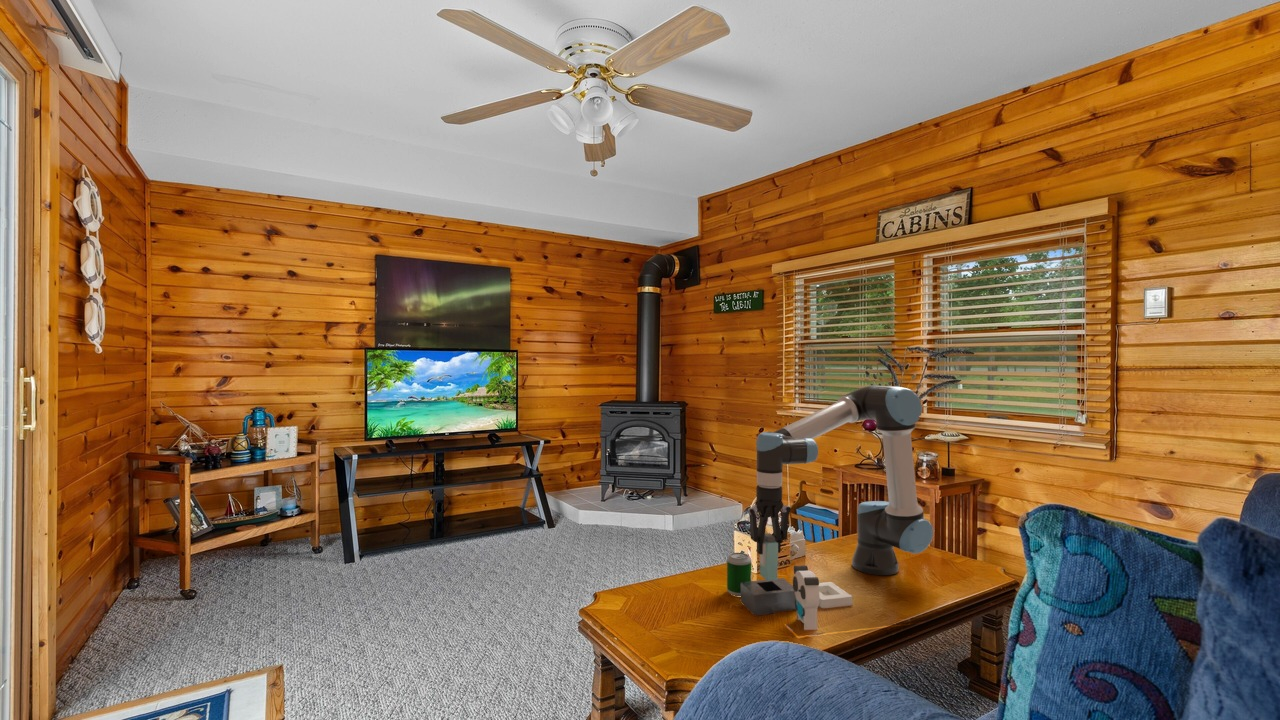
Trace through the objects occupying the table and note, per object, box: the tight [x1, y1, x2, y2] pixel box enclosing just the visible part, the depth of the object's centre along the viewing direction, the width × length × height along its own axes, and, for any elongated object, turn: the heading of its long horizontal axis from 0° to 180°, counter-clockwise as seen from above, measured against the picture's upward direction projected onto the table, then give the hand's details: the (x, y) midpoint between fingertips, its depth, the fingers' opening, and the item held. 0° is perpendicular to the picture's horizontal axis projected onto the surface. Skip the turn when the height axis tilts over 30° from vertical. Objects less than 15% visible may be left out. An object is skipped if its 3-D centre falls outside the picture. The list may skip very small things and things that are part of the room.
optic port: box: [740, 577, 797, 616], centre depth 182 cm, size 14×10×6 cm
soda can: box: [726, 552, 752, 596], centre depth 191 cm, size 8×8×12 cm
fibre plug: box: [759, 532, 779, 581], centre depth 182 cm, size 3×5×13 cm, turn 13°
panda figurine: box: [785, 565, 825, 636], centre depth 169 cm, size 12×11×15 cm
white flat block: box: [818, 581, 854, 609], centre depth 186 cm, size 10×12×3 cm
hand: (768, 563), depth 182 cm, fingers closed on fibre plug, 3 cm apart
